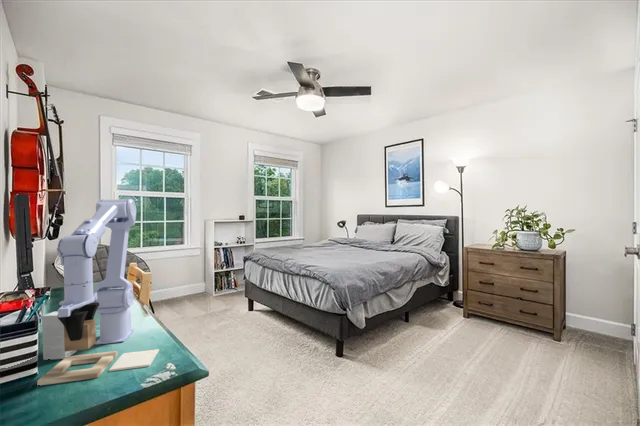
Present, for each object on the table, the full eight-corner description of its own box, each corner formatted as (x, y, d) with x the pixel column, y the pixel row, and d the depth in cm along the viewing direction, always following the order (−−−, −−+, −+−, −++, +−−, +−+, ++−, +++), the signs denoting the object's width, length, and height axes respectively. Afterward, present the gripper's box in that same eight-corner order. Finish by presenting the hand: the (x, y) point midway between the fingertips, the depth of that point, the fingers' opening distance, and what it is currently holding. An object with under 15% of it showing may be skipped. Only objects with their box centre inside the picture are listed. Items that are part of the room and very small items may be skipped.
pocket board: (66, 361, 82) (66, 356, 82) (117, 355, 85) (117, 350, 85) (37, 385, 70) (37, 380, 70) (97, 377, 73) (97, 372, 73)
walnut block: (73, 344, 79) (72, 321, 79) (95, 342, 80) (95, 319, 80) (64, 351, 75) (63, 327, 75) (88, 348, 76) (87, 324, 76)
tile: (123, 355, 85) (123, 353, 85) (158, 350, 87) (158, 349, 87) (109, 371, 76) (109, 369, 76) (149, 366, 78) (149, 364, 78)
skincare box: (77, 352, 87) (76, 310, 87) (65, 359, 83) (64, 315, 83) (55, 353, 87) (54, 310, 87) (42, 360, 83) (40, 316, 82)
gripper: (75, 277, 83) (77, 327, 83) (41, 291, 69) (43, 351, 69) (105, 275, 85) (106, 324, 85) (77, 288, 71) (79, 347, 71)
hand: (80, 336), depth 77 cm, fingers closed on walnut block, 4 cm apart
